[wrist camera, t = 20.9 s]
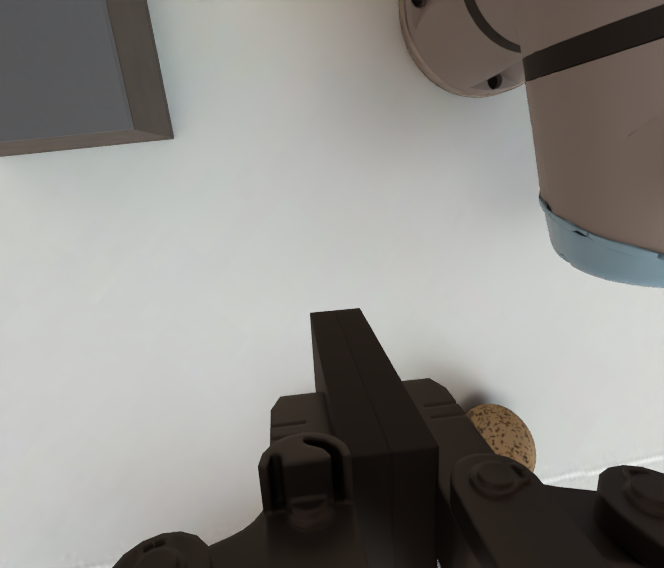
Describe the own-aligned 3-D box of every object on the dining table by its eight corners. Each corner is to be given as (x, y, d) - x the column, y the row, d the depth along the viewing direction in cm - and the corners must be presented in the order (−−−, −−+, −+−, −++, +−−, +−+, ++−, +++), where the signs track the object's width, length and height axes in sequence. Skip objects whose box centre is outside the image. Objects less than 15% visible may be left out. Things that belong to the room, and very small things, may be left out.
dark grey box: (-74, -76, 32) (-243, -191, 22) (129, -88, 33) (61, -202, 23) (-1, 156, 37) (-111, 154, 26) (174, 138, 38) (134, 129, 28)
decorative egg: (440, 404, 49) (480, 462, 39) (498, 381, 49) (551, 433, 40) (457, 452, 51) (498, 519, 42) (512, 430, 51) (566, 491, 42)
